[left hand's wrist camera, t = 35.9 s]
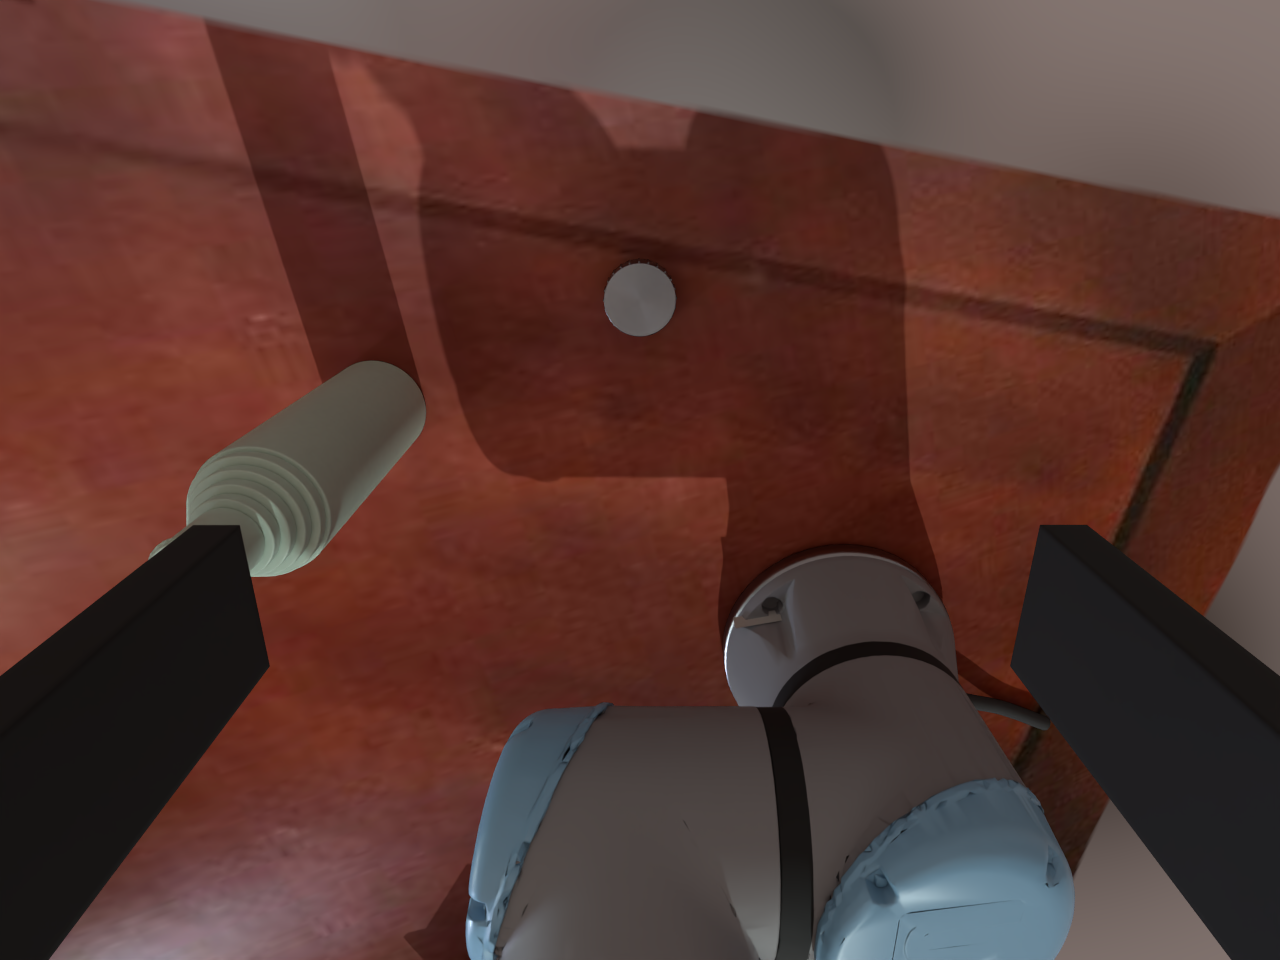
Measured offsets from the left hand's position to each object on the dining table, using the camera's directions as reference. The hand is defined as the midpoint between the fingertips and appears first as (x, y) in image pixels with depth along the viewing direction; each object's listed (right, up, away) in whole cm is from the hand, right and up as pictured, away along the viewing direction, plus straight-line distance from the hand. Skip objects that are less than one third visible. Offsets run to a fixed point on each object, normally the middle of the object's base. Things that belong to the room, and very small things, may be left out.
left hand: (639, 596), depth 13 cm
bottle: (-16, +6, +34) cm, 38 cm away
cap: (0, +12, +30) cm, 32 cm away
